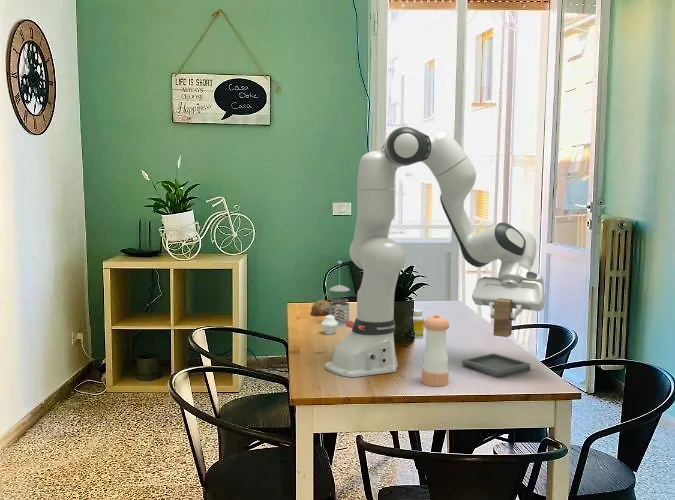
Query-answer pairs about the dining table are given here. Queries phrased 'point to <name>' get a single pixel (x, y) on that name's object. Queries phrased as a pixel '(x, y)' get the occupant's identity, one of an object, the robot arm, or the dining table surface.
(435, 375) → the pepper shaker
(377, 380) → the dining table surface
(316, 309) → the bread roll
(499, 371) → the tray
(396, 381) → the dining table surface
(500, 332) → the walnut block
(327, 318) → the muffin
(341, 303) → the french press
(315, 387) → the dining table surface
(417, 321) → the supplement bottle
